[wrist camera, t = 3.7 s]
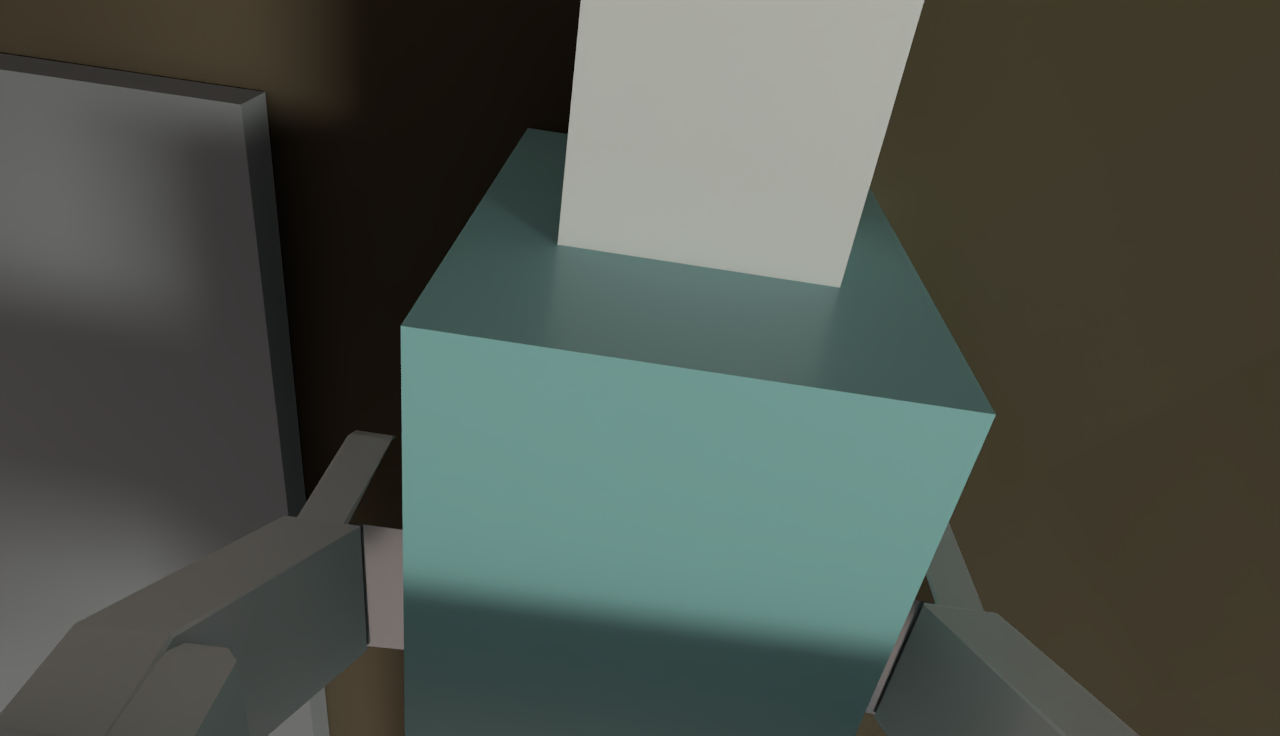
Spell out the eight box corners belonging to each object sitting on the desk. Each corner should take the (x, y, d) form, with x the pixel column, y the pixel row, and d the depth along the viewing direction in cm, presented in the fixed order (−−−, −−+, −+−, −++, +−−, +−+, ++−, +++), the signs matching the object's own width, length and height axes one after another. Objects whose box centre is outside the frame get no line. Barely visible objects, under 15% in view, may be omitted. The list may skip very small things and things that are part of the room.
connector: (546, -108, 9) (396, -86, 4) (928, -45, 9) (1160, 37, 4) (484, 750, 16) (408, 1073, 12) (691, 778, 16) (691, 1110, 12)
